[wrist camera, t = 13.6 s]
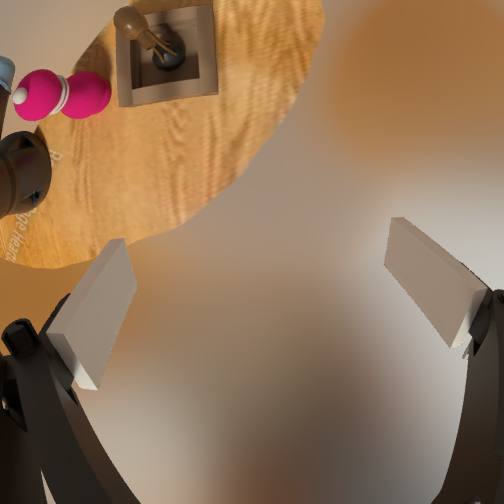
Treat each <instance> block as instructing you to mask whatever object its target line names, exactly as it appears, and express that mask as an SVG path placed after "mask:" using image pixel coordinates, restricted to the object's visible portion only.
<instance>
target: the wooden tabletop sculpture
mask: <svg viewBox="0 0 504 504" xmlns="http://www.w3.org/2000/svg"><path fill="white" fill-rule="evenodd" d="M113 19H114V25H115V27H116V29H117V30H118V31H119V32H120V33H121V34H122V35H123V36H124V37H125V38H128V39H130V40H138V41H139V43H140V44H141V45H142V47H143V48H144V49H145V51H149V50H151V49H153V50H154V51H153V56H152V61H153V62H154V64H155V65H156V66H157V68H158V69H160V70H164V71H171V70H174V69H177V68H179V67H180V66H181V64H182V63H183V62H184V61H185V54H186V51H185V49H184V48H183V47H182V45H181V44H180V43H178V42H174V41H166V42H164V41H162V40H161V39H159V38H158V37H157V36H156V35H155V34H153V33H152V32H151V31H150V30H149V29H148V22H147V20H146V18H145V16H144V15H143V14H142V13H141V12H140V11H139V10H137V9H136V8H134V7H131V6H125V7H123V8H120V9H119V10H118V11H117V12H116V13H115V15H114V18H113Z"/></svg>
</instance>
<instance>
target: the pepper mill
mask: <svg viewBox="0 0 504 504" xmlns="http://www.w3.org/2000/svg"><path fill="white" fill-rule="evenodd" d="M12 98H13V102H14V107H15V110H16V112H17V113H18V115H19V116H20V117H21V118H23V119H24V120H28V121H36V120H40V119H43V118H45V117H46V116H47V115H51V114H55V113H57V112H58V111H60V110H61V111H62V113H63V114H65V115H66V116H68V117H70V118H74V119H83V118H86V117H89V116H90V115H93V114H97V113H99V112H101V111H102V110H103V109H104V108H105V107H106V106H107V104H108V103H109V101H110V98H111V87H110V85H109V83H108V82H107V81H106V80H105V79H104V78H101V77H99V76H98V75H96V74H95V73H92V72H79V73H76V74H73V75H72V76H70V77H69V78H67V79H65V78H64V77H63V76H60V75H56V74H54V73H53V72H52V71H49V70H44V69H41V70H36V71H33V72H31V73H29V74H28V75H27V76H25V77H24V78H23V79H22V81H21V82H20V83H19V85H18V87H17V89H16V90H15V92H14V93H13V96H12Z"/></svg>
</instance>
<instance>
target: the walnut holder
mask: <svg viewBox="0 0 504 504" xmlns="http://www.w3.org/2000/svg"><path fill="white" fill-rule="evenodd" d="M144 16H145V18H146V20H147V22H148V29H149V30H150V31H151V32H152V33H153V34H155V35H156V36H157V37H158V38H159V39H161V40H162V41H164V42H166V41H174V42H178V43H180V44H181V45H182V47H183V48H184V49H185V51H186V54H185V61H184V62H183V63H182V64H181V66H180V67H179V68H177V69H174V70H171V71H164V70H160V69H158V68H157V66H156V65H155V64H154V62H153V61H152V56H153V51H154V50H153V49H151V50H149V51H145V49H144V48H143V47H142V45H141V44H140V43H139V41H138V40H130V39H128V38H125V37H124V36H123V35H122V34H121V33H120V32H119V31H118V30H117V29H116V66H117V85H118V99H119V107H137V106H142V105H147V104H152V103H158V102H163V101H170V100H176V99H183V98H191V97H199V96H208V95H218V82H217V65H216V48H215V29H214V15H213V8H212V4H208V5H199V6H191V7H184V8H177V9H172V10H166V11H161V12H156V13H151V14H147V15H144Z"/></svg>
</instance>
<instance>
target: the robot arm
mask: <svg viewBox="0 0 504 504" xmlns="http://www.w3.org/2000/svg"><path fill="white" fill-rule="evenodd" d="M14 73H15V65H14V63H13V62H12V61H11V60H10V59H8V58H6V57H3V56H0V140H1V134H2V127H3V122H4V117H5V112H6V107H7V102H8V98H9V95H10V94H11V85H12V81H13V77H14ZM50 182H51V163H50V158H49V155H48V152H47V149H46V147H45V145H44V144H43V142H42V141H41V140H40V138H39V137H37V136H36V135H35V134H33V133H31V132H28V131H20V132H15V133H12V134H10V135H8V136H6V137H5V138H4V139H2V140H1V141H0V219H2V218H3V217H5V216H6V215H12V214H21V213H26V212H28V211H30V210H32V209H34V208H35V207H37V206H38V205H39V204H40V203H41V202H42V201H43V200H44V198H45V197H46V195H47V192H48V190H49V187H50ZM384 266H385V267H386V268H387V269H388V270H389V271H390V273H391V274H392V275H393V276H394V277H395V279H396V280H397V281H398V282H399V283H400V284H401V286H402V287H403V288H404V289H405V290H406V292H407V293H408V294H409V295H410V297H411V298H412V299H413V300H414V302H415V303H416V304H417V305H418V307H419V308H420V309H421V311H423V313H424V314H425V316H426V317H427V318H428V320H429V321H430V322H431V323H432V325H433V326H434V328H435V329H436V330H437V332H439V334H440V335H441V337H442V338H443V340H444V341H445V342H446V344H447V345H448V346H449V348H453V347H456V346H459V345H461V344H463V342H464V340H465V338H466V336H467V334H468V332H469V333H470V335H471V336H472V339H471V341H470V343H469V345H468V347H467V349H466V351H465V352H464V355H463V357H462V358H463V359H464V358H465V356H466V355H467V354H468V353H469V356H468V370H467V379H466V387H465V395H464V402H463V408H462V413H461V419H460V424H459V429H458V433H457V438H456V442H455V446H454V450H453V454H452V458H451V461H450V465H449V468H448V471H447V474H446V477H445V480H444V484H443V486H442V489H441V491H440V492H439V494H438V495H437V497H436V498H435V499H434V500H433V501H432V503H431V504H504V290H500V289H498V290H495V291H492V290H491V289H490V288H489V287H488V286H487V285H486V284H485V283H484V282H483V281H482V280H480V278H479V277H477V276H475V274H474V273H473V272H472V271H469V268H467V267H466V266H465V265H464V264H463V263H461V262H459V261H458V260H457V259H455V258H454V257H453V256H452V255H451V254H450V253H449V252H447V251H446V250H445V249H443V248H442V247H441V246H440V245H439V244H438V243H436V242H435V241H434V240H433V239H431V238H430V237H429V236H428V235H426V234H425V233H424V232H422V231H421V230H420V229H418V228H417V227H416V226H415V225H413V224H412V223H411V222H409V221H408V220H407V219H405V218H404V217H395V218H391V224H390V231H389V238H388V244H387V250H386V256H385V261H384ZM136 289H137V283H136V280H135V277H134V273H133V269H132V266H131V262H130V258H129V255H128V251H127V247H126V243H125V239H124V238H122V239H113V240H110V241H109V242H108V244H107V245H106V246H105V247H104V249H103V250H102V251H101V253H100V254H99V255H98V257H97V258H96V259H95V261H94V262H93V263H92V265H91V266H90V267H89V269H88V270H87V271H86V273H85V274H84V276H83V277H82V279H81V280H80V281H79V283H78V284H77V286H76V287H75V288H74V290H73V291H72V293H69V294H67V295H66V296H65V297H64V298H63V299H61V300H60V302H59V303H58V305H57V306H56V307H55V310H54V311H53V312H52V313H51V315H50V317H49V318H48V320H47V321H46V323H45V324H44V326H43V327H42V329H41V331H40V332H39V334H38V335H37V333H36V331H35V329H34V327H33V326H32V324H31V322H30V320H28V319H25V318H24V319H18V320H16V321H14V322H12V323H11V324H9V325H8V326H7V327H6V328H5V330H4V331H3V333H2V337H1V339H2V341H3V342H4V344H5V345H6V347H7V348H8V350H9V352H10V353H11V355H7V356H3V355H2V354H1V352H0V504H47V500H46V495H45V490H44V486H43V480H42V475H41V470H42V473H43V475H44V478H45V480H46V483H47V485H48V487H49V490H50V492H51V494H52V496H53V498H54V501H55V502H56V504H141V503H140V502H139V501H138V499H137V498H136V497H135V496H134V494H133V493H132V491H131V490H130V489H129V487H128V486H127V484H126V483H125V482H124V480H123V478H122V477H121V475H120V474H119V472H118V471H117V469H116V468H115V466H114V465H113V463H112V461H111V460H110V458H109V457H108V455H107V453H106V452H105V450H104V448H103V447H102V445H101V443H100V441H99V439H98V437H97V436H96V434H95V432H94V430H93V428H92V426H91V425H90V423H89V420H88V418H87V416H86V415H85V412H84V411H83V408H82V406H81V404H80V402H79V400H78V398H77V395H76V393H75V391H74V390H73V388H72V387H71V384H72V382H73V379H75V380H76V382H77V383H78V385H79V386H80V387H81V388H83V389H91V390H98V389H99V386H100V383H101V380H102V377H103V374H104V371H105V368H106V365H107V363H108V360H109V357H110V354H111V352H112V349H113V346H114V344H115V341H116V338H117V336H118V333H119V330H120V328H121V325H122V323H123V320H124V318H125V316H126V313H127V311H128V308H129V306H130V303H131V301H132V299H133V296H134V294H135V291H136ZM2 400H3V401H4V402H5V409H4V408H3V405H2Z"/></svg>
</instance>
